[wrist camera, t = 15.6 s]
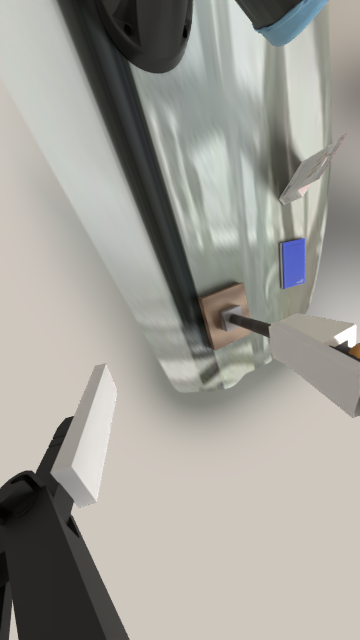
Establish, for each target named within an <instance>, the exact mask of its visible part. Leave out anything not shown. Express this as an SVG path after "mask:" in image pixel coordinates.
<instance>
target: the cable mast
mask: <svg viewBox="0 0 360 640" xmlns="http://www.w3.org/2000/svg"><path fill="white" fill-rule="evenodd" d="M198 301H199V305H200V308H201V312H202V316H203V319H204V323H205V327H206V331H207V334H208V338H209V342H210V345H211V348H212V349H213V350H217V349H219V348H222V347H224V346H226V345H228V344H230V343H232V342H234V341H236V340H238V339H240V338H242V337H244V336H247V335H249V334H251V333H252V331H253V332H256V333H258V334H261V335H264V336H266V337H269V338H270V333H269V326H271V324H268V323H264V322H261V321H257V320H254V319H250V316H249V311H248V305H247V300H246V294H245V289H244V283H236V284H234V285H231V286H229V287H226V288H223V289H221V290H218V291H216V292H213V293H210V294H208V295H205V296H203V297H200V298H198ZM336 347H337V348H340V349H342V350H344V351H346V352H348V353H350V355H351V354H352V355H354V356H356V357H357V358H360V343H358V344H356V345H354V346H353V347H352V348H351V347H348V346H344V345H341V344H339V345H338V346H336Z"/></svg>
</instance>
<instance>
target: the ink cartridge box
mask: <svg viewBox="0 0 360 640" xmlns="http://www.w3.org/2000/svg"><path fill="white" fill-rule="evenodd" d="M345 136H346V134H344V135H343V136H341V137H340V138H339V139H337V140H336V141H334V142H333V143H332V144H330V145H329V146H328V147H326V148H325V149H323V150H321V151H319V152H318V153H316V154H315V155H313V156H311V157H310V158H308V159H306V160H305V161H303V162H302V163H301V164H300V166H299V167H298V169H297V171H296V172H295V174H294V175H293V177H292V179H291V180H290V182H289V183H288V185H287V187H286V188H285V190H284V192H283V193H282V195H281V196H280V198H279V200H280V201H281V203H282V204H283V205H285V204H287V203H290V202H292V201H294V200H297V199H299V198H301V197H303V195H304V194H305V192H306V190H307V189H308V187H309V186H310V184H311V183H312V182H314V181H316V180H318V179H319V178H320V176H321V175H322V173H323V172H324V170H325V168H326V167H327V165H328V164H329V162H330V160H331V159H332V157H333V155H334V154H335V152H336V150H337V149H338V147H339V145H340V144H341V142H342V141H343V139H344V137H345ZM329 154H330V157H329V159H328V160H327V161H326V162H325V160H326V158H327V156H328V155H329ZM324 162H325V163H324ZM323 163H324V164H323ZM322 165H323V166H322ZM321 166H322V167H321Z"/></svg>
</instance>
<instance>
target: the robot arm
mask: <svg viewBox="0 0 360 640" xmlns="http://www.w3.org/2000/svg"><path fill="white" fill-rule="evenodd" d="M95 1H96V5H97V8H98V11H99V14H100V17H101V20H102V22H103V24H104V26H105V28H106V30H107V32H108V34H109V36H110V37H111V39H112V40H113V42H114V43H115V45H116V46H117V47H118V49H119V50H120V51H121V52H122V53H123V54H124V55H125V56H126V57H127V58H128V59H129V60H130V61H131V62H132V63H134V64H135V65H136V66H138V67H140V68H142V69H143V70H146V71H149V72H153V73H164V72H168V71H170V70H172V69H173V68H174V67H176V66H177V65H178V63H179V62H180V61H181V59H182V57H183V55H184V52H185V49H186V46H187V42H188V39H189V35H190V31H191V24H192V12H193V0H95ZM235 1H236V2H237V4H238V5H239V6H240V8H241V9H242V10H243V11H244V13H245V14H246V15H247V17H248V18H249V19H250V21H251V22H252V25H253V28H254V29H255V31H257V32H258V33H261V34H262V35H263V36H264V37H265V38H266V39H267V40H268V42H269V43H270V44H271V45H273V46H276V47H277V46H283V45H285V44H287V43H289V42H290V41H291V40H293V39H294V38H295V37H296V36H297V35H299V34H300V33H301V32H302V31H303V30H304V29H305V28H306V26H307V25H308V24H309V23H310V22H311V21H312V20H313V19H314V18H315V16H316V15H317V14H318V13H319V12H320V10H321V9H322V8H323V7H324V5H325V4H326V3H327V2H328V0H235ZM270 352H272V353H273V354H274V355H275V356H276V357H278V358H279V359H280V360H281V361H283V362H284V363H285V364H286V365H288V366H289V367H290V368H292V369H293V370H294V371H295V372H296V373H298V374H299V375H300V376H301V377H302V378H304V379H305V380H306V381H308V382H309V383H310V384H311V385H312V386H314V387H315V388H316V389H317V390H319V391H320V392H321V393H322V394H324V395H325V396H326V397H327V398H329V399H330V400H331V401H332V402H333V403H335V404H336V405H337V406H338V407H340V408H341V409H342V410H343V411H345V412H346V413H347V414H349V415H350V416H351V417H352V418H354V417H356V416H360V358H357V357H356V356H354V355H352V354H351V355H350V353H348V352H346V351H344V350H342V349H340V348H337V347H333V346H330V345H329V346H328V345H326V344H324V343H322V342H320V341H318V340H316V339H314V338H312V337H310V336H308V335H307V334H305V333H303V332H301V331H299V330H297V329H295V328H293V327H291V326H289V325H287V324H285V323H284V322H282V321H280V320H279V321H275V322H271V334H270ZM116 397H117V389H116V386H115V384H114V382H113V379H112V377H111V374H110V372H109V370H108V367H107V365H106V364H102V365H97V366H95V368H94V370H93V372H92V375H91V377H90V380H89V382H88V385H87V387H86V389H85V391H84V394H83V396H82V399H81V401H80V404H79V406H78V408H77V411H76V413H75V415H74V416H72V417H69V418H66V419H65V420H64V421H63V422H62V423H61V424H60V426H59V427H58V428H57V430H56V432H55V434H54V437H53V440H51V443H50V445H49V448H48V449H47V451H46V453H45V455H44V457H43V459H42V461H41V463H40V465H39V467H38V469H37V471H36V473H34V472H33V471H24V472H21V473H19V474H17V475H16V476H14V477H12V478H11V479H10V480H8V481H7V482H6V483H5V484H4V485H3V486H2V487H1V488H0V640H9V631H10V620H11V608H12V599H13V606H14V612H15V619H16V625H17V632H18V639H19V640H129V637H128V635H127V633H126V631H125V629H124V626H123V624H122V622H121V620H120V618H119V616H118V613H117V611H116V609H115V607H114V605H113V603H112V600H111V598H110V596H109V594H108V592H107V590H106V587H105V585H104V583H103V581H102V579H101V577H100V574H99V572H98V570H97V568H96V566H95V564H94V561H93V559H92V557H91V555H90V553H89V551H88V548H87V546H86V544H85V542H84V540H83V538H82V535H81V533H80V531H79V529H78V527H77V525H76V522H75V520H74V518H73V516H72V515H71V510H72V506H73V503H74V502H75V504H76V505H77V506H78V507H79V508H81V507H84V506H86V505H90V504H93V503H96V502H97V499H98V493H99V488H100V483H101V478H102V472H103V467H104V461H105V456H106V451H107V445H108V440H109V435H110V429H111V424H112V418H113V413H114V407H115V403H116Z"/></svg>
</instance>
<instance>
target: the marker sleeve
mask: <svg viewBox="0 0 360 640" xmlns="http://www.w3.org/2000/svg"><path fill="white" fill-rule="evenodd" d="M281 321H282V322H284V323H285V324H287V325H289V326H291V327H293V328H295V329H297V330H299V331H301V332H303V333H305V334H307V335H308V336H310V337H312V338H314V339H316V340H318V341H320V342H322V343H324V344H326V345H328V346H329V345H330V346H333V347H336V346H338V345H339V344H341V345H344V346H348V347H351V348H352V347H353V346H354V345H356V324H353V323H347V322H342V321H336V320H331V319H326V318H320V317H315V316H309V315H304V314H298V313H296V314H293V315H291V316H289V317H287V318H285V319H283V320H281ZM269 333H270V334H271V326H269ZM272 354H273V353H272ZM273 358H274V359H276V360H278V361H280V362H282V363H284V362H283V361H281V360H280V359H279V358H278V357H276V356H275V355H274V354H273ZM284 364H285V363H284Z"/></svg>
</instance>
